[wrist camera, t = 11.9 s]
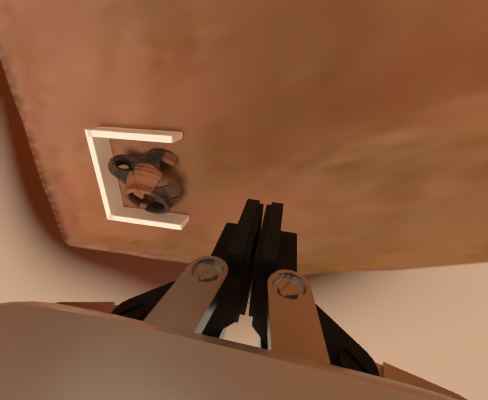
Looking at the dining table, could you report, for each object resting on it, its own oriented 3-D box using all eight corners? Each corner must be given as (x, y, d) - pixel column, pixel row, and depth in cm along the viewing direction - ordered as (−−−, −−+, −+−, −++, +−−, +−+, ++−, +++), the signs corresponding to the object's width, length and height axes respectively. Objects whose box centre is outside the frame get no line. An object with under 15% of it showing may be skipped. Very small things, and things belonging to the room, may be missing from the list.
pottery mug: (196, 160, 40) (179, 201, 35) (183, 187, 47) (168, 223, 43) (122, 127, 36) (93, 167, 32) (121, 161, 44) (98, 197, 39)
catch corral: (101, 126, 40) (84, 129, 37) (182, 131, 37) (171, 135, 34) (120, 210, 47) (107, 219, 44) (189, 219, 44) (181, 229, 41)
